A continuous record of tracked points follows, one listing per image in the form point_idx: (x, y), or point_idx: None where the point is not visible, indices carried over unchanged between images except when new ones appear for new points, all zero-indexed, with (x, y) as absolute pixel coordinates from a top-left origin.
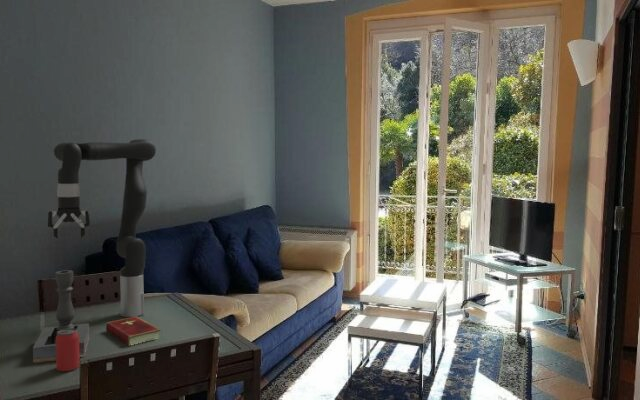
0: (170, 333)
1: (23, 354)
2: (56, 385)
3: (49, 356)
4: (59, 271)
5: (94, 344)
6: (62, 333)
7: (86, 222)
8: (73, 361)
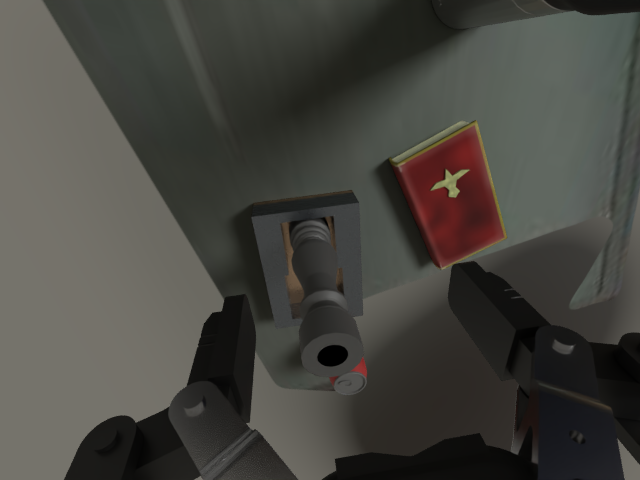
0: (522, 201)
1: (241, 271)
2: None
3: None
4: (312, 348)
5: (367, 240)
6: (342, 387)
7: (626, 441)
8: None
